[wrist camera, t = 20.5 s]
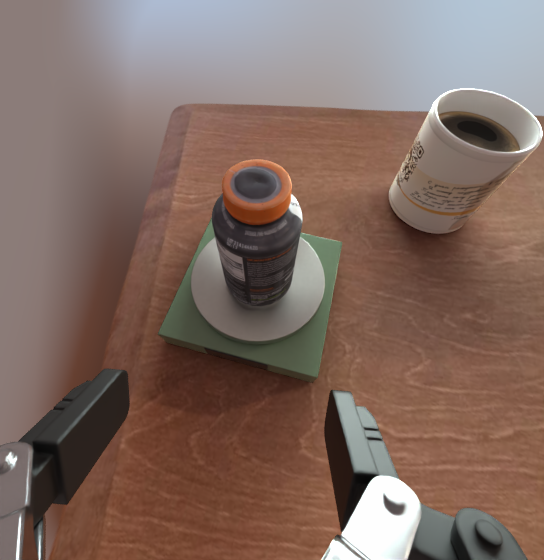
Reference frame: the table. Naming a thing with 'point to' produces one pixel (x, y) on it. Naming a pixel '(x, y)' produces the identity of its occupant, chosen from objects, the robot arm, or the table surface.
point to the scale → (257, 312)
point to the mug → (461, 158)
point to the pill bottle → (257, 231)
